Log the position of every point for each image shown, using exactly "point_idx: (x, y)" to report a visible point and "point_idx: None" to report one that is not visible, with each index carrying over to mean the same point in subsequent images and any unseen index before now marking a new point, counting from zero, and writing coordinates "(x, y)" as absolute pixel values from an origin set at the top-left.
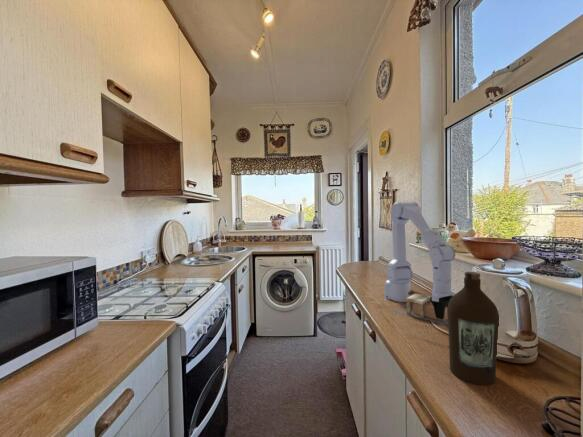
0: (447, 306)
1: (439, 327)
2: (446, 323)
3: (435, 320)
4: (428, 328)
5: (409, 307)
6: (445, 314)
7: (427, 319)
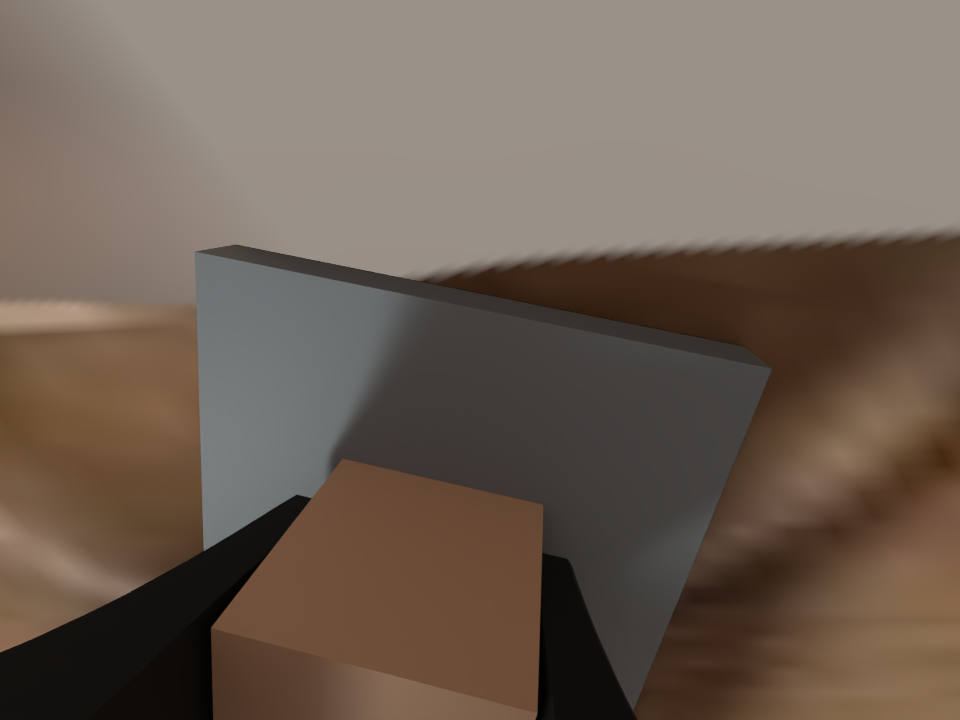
0: (189, 649)
1: None
2: (641, 476)
3: None
4: (825, 650)
5: None
6: (476, 575)
7: None
